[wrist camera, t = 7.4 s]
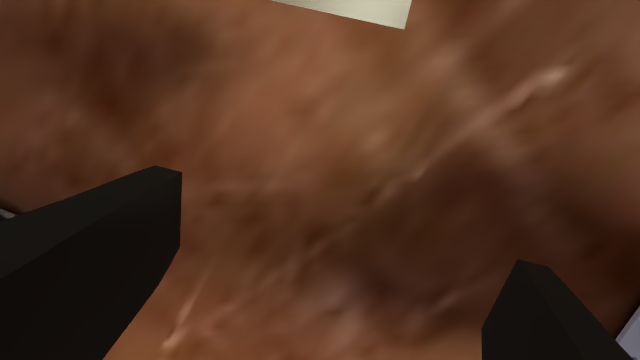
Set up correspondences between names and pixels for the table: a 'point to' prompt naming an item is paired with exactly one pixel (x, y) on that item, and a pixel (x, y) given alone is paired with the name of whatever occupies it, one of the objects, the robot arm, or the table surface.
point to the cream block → (361, 9)
